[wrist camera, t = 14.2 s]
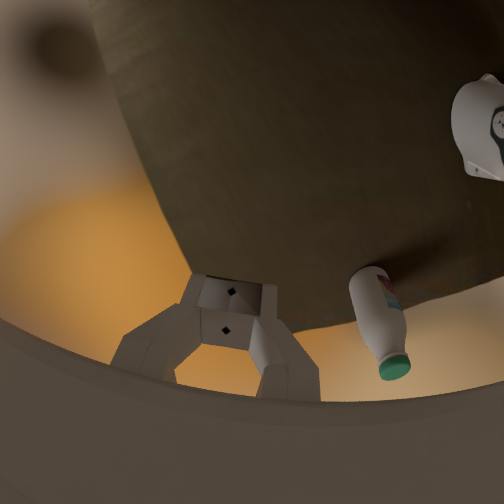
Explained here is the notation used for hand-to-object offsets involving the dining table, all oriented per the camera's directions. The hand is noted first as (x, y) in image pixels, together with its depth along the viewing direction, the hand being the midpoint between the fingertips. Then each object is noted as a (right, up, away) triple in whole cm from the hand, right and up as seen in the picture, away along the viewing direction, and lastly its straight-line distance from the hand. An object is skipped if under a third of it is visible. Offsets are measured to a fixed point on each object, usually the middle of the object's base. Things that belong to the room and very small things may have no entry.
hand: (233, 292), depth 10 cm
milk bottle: (+22, -4, +38) cm, 44 cm away
